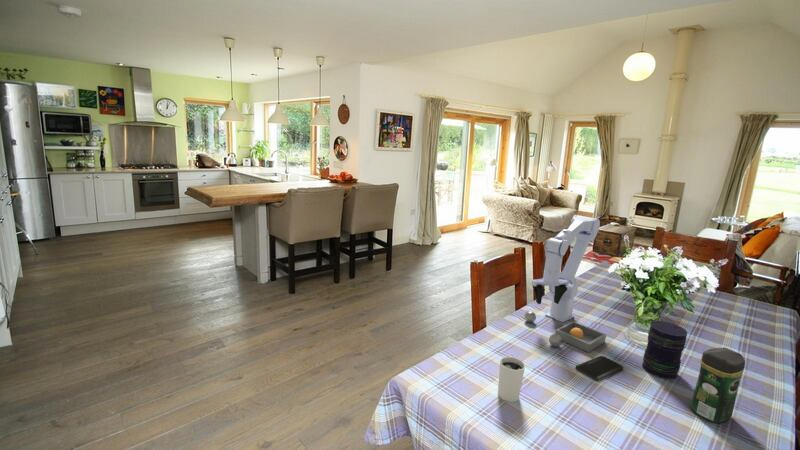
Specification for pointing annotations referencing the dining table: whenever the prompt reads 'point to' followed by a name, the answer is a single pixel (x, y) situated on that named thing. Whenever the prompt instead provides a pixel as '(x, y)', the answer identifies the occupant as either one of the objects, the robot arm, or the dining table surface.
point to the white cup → (510, 378)
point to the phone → (599, 368)
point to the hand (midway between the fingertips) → (547, 303)
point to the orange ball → (576, 333)
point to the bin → (588, 341)
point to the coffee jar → (717, 384)
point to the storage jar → (664, 349)
